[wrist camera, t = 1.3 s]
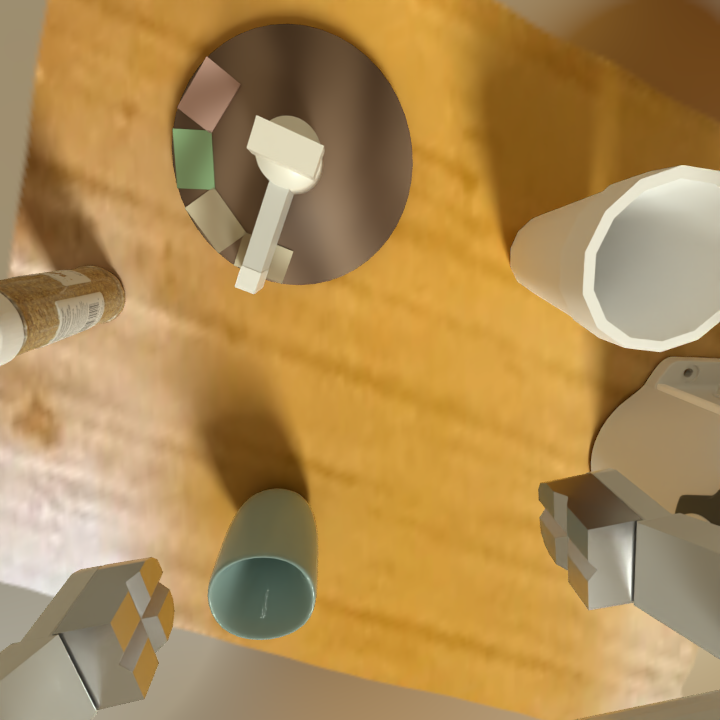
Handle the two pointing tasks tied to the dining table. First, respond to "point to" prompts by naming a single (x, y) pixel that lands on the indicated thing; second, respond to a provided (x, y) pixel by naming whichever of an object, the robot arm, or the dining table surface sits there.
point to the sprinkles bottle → (55, 307)
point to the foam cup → (631, 258)
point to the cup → (267, 567)
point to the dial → (334, 130)
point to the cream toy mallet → (278, 187)
